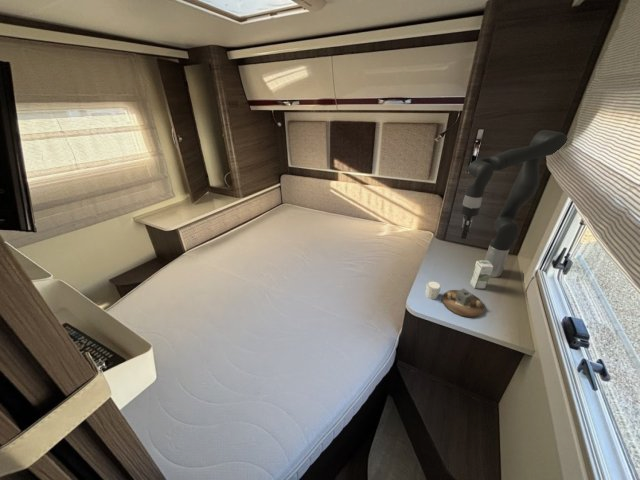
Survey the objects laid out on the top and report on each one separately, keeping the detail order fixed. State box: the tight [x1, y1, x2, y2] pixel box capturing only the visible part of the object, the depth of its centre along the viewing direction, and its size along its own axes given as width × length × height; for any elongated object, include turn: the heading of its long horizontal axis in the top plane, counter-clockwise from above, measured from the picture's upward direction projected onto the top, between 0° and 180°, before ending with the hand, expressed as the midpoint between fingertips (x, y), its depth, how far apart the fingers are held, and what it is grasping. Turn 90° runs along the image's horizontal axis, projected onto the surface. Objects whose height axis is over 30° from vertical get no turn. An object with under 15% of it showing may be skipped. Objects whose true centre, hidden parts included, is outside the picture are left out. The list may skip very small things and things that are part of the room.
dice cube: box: [455, 288, 474, 306], centre depth 127 cm, size 5×5×5 cm
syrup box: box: [469, 260, 493, 290], centre depth 137 cm, size 6×6×14 cm
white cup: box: [425, 280, 442, 300], centre depth 133 cm, size 7×7×7 cm
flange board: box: [441, 289, 485, 319], centre depth 127 cm, size 18×18×4 cm
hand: (463, 234), depth 132 cm, fingers open, 8 cm apart
